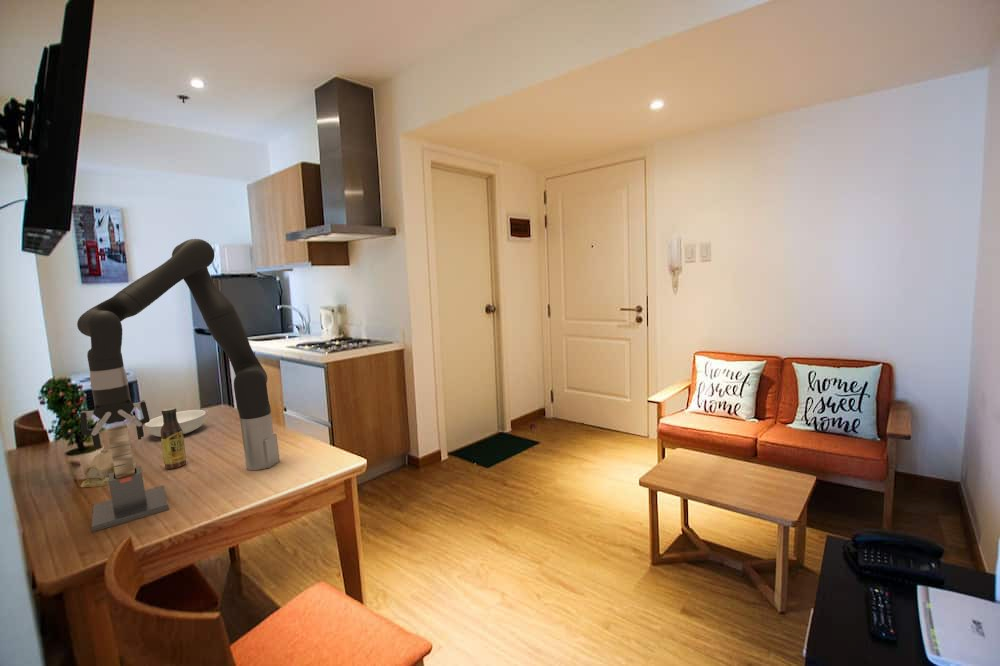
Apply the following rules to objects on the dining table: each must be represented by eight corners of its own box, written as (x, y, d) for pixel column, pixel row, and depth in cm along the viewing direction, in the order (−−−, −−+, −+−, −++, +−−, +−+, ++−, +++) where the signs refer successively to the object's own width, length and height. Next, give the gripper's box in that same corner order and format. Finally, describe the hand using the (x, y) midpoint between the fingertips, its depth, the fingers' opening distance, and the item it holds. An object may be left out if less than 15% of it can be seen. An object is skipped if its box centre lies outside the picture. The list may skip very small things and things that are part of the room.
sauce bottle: (175, 470, 156) (166, 412, 153) (160, 469, 157) (150, 412, 155) (192, 462, 163) (183, 406, 160) (177, 461, 164) (168, 406, 161)
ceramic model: (103, 488, 145) (97, 457, 144) (72, 488, 147) (66, 457, 146) (144, 469, 159) (139, 440, 158) (115, 468, 161) (110, 440, 159)
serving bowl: (166, 427, 205) (163, 412, 204) (217, 423, 207) (214, 407, 206) (135, 444, 184) (132, 427, 183) (191, 439, 186) (189, 423, 185)
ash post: (136, 478, 132) (126, 424, 130) (136, 483, 129) (127, 427, 127) (117, 483, 130) (107, 428, 127) (117, 488, 126) (107, 431, 124)
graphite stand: (164, 490, 141) (158, 456, 140) (168, 509, 129) (163, 473, 128) (94, 509, 131) (88, 473, 130) (92, 532, 119) (85, 493, 118)
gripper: (142, 378, 133) (151, 433, 135) (75, 388, 124) (86, 447, 126) (143, 382, 127) (153, 439, 129) (73, 393, 118) (84, 454, 120)
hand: (120, 443), depth 128 cm, fingers open, 8 cm apart
